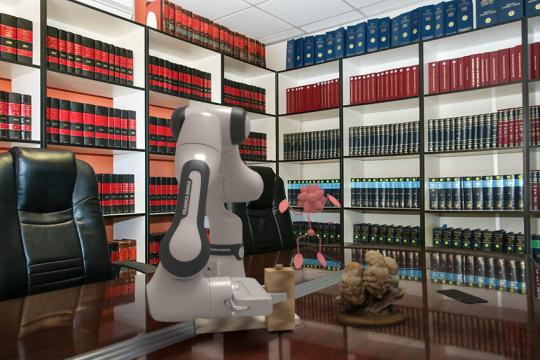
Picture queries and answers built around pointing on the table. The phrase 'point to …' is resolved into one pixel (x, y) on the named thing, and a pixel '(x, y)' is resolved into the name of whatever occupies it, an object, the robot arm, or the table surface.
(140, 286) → the table surface
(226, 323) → the board
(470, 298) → the smartphone
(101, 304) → the table surface
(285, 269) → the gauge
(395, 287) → the carved stone sculpture
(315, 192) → the figurine
